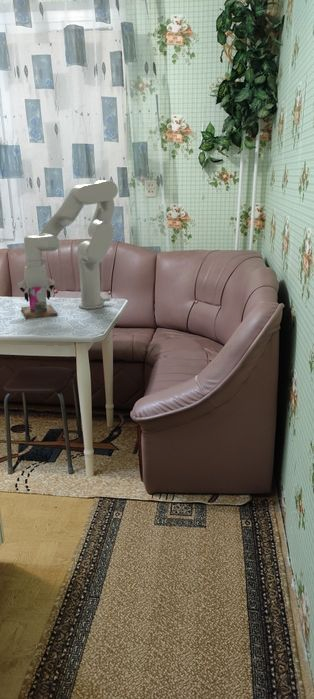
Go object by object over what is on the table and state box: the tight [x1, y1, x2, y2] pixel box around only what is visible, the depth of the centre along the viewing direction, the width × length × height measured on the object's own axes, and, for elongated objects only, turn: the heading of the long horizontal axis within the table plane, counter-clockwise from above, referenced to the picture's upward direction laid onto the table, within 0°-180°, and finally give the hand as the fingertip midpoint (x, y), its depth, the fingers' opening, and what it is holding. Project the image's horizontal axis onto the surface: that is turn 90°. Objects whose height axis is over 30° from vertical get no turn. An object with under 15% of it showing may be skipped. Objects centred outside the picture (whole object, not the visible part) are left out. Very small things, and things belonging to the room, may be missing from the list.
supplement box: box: [27, 287, 48, 311], centre depth 238 cm, size 6×6×12 cm
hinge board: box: [21, 302, 59, 320], centre depth 239 cm, size 14×18×6 cm
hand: (37, 300), depth 238 cm, fingers open, 9 cm apart
